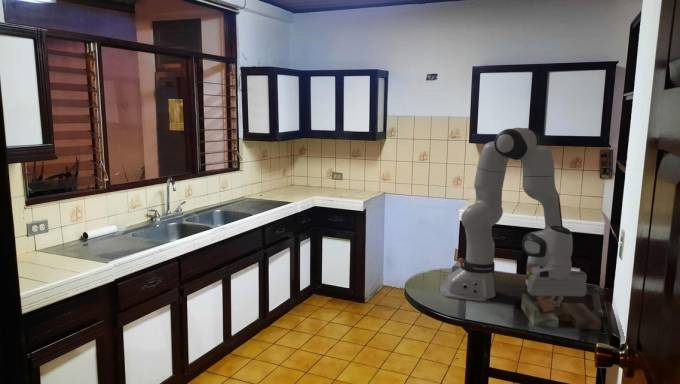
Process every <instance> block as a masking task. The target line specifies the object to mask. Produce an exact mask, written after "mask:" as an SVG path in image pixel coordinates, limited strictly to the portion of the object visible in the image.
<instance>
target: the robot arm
mask: <svg viewBox="0 0 680 384" xmlns="http://www.w3.org/2000/svg"><path fill="white" fill-rule="evenodd" d="M553 155H554V154H553V152H552V149H550V148H549V147H547V146H544V145H540V137H539V135H538V133H537V132H535V130H533V129H531V128H528V127H513V128H506V129H504V130H503V129H502V130H501V131H500V132H499V133H498V134H496V136H495V139H494V141H489V142H487V143H485V144H484V145H483V147H482V150H481V153H480V155H479V159H478V163H477V167H476V173H475V176H474V178H475V179H474V182H473V187H474V190H475V202H474V204H471V205H469V206H468V207H466V208H465V210H464V211H463V212H462V214H461V217H460V220H461V224H462V227H464V230H465V235H466V236H465V238H466V251H465V253H466V254H465V255H466V256H465V258H462V257H459V258H458V261H459V263H461V267H460V268H459V269H457V270H456V271H454V272H452V271H451V273H449V274H448V276H447V278H446V281H445V283H442V284H441V285H440V287H439V290H440V293H441V294H442V295H443V296H444V297H445V298H451V299H459V300H467V301H477V302H485V301H487V300H489V299H492V298H494V297H495V296H496V292H495V291H496V290H495V286H494V275H495V265H496V264H495V261H494V259H495V245H496V244H495V241H494V239H493V235H492V230H493V229H492V227H493V226H495V225H496V224H497V223H498V222H499V221H500V220H501V218H502V216H503V213H504V211H503V207H502V206H503V198H502V197H503V188H504V182H505V178H506V172H507V166H508V162H509V161H510V159H511V160H514V161H520V163H521V164H522V165H521V166H522V189H523V191H524V192H525V194H526V195H527V196H528V197H530V198H531V199H533V200H535V201H537V202H539V203H540V204H541V206H542V208H543V216H544V217H543V218H544V227H543V229H542V230H536V231H532V232H528V233H526V234H525V235H524V236H523V238H522V240H521V247H522V250H523V252H524V253H525V254H526V255H527V256H528V257H529V256H530V257H539V258H540V257H542V258H545V263H544V264H541V265H538V266H534V267H532V268H531V272H532V273H533V274H531V275H530V276H529V280H528V285H526V286H527V288H526V289H527V290H526V291H527V293H528V294H529V295H530V296H533V297H534V296H536V297H539V296H550V297H551V299H552V303H553V306H554V307H560V303H562V301H563V300H564V297H580V298H581V297H585V296H586V295H587V283H586V282H587V280H588V279H587V278H588V276H587V273H586V272H584V271H583V270H572V259H571V257H572V255H573V246H574V245H573V235H572V232H571V230H570V229H569V228H567V227H565V226H563V225H564V224H563V216H562V207H561V199H560V195H559V192H558V190H557V187H556V181H555V180H556V179H555V177H556V176H555V174H556V173H555V161H554V156H553ZM556 297H557V299H556ZM554 299H556V300H554Z"/></svg>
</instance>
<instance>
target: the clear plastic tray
mask: <svg viewBox="0 0 680 384" xmlns="http://www.w3.org/2000/svg"><path fill="white" fill-rule="evenodd" d="M520 303H521V304H520V309H521V310H522V311H523V313H524V315H525V316H526V317H527V319H528V320H529V322H530V323H531V325H532V326H533V327H547V328H562V329H563V328H565V329H566V328H567V329H585V330H586V329H587V330H601V327H602V321H601V320H600V318H598V317H597V315H595V313H593V312H592V310H590V309H589V307H588V306H586V305H585V304H584V303H583V302H581V303H579V302H578V303H577V302H576V303H575V302H561V303H560V307H554V310H551V311H547V312H543V311H542V310H541V309H540V306H539V303H538V300H537V301H535V300H532V299H531V298H530V297H529V295H528V294H527V293H521V302H520Z"/></svg>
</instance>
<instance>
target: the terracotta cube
mask: <svg viewBox="0 0 680 384" xmlns="http://www.w3.org/2000/svg"><path fill="white" fill-rule="evenodd" d="M536 299H537V301H538V303H539V306H540V309H541V310H542V311H543V312H547V311H551V310H554V306H553V303H552V299H551V297H550V296H536Z"/></svg>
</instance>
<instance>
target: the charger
mask: <svg viewBox="0 0 680 384" xmlns="http://www.w3.org/2000/svg"><path fill="white" fill-rule="evenodd" d="M460 267H461V263H459V260H457V261H456V262H455V263H454V264H453V265H452V267H451V273H452V272H454V271H456V270H457V269H459V268H460Z"/></svg>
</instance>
